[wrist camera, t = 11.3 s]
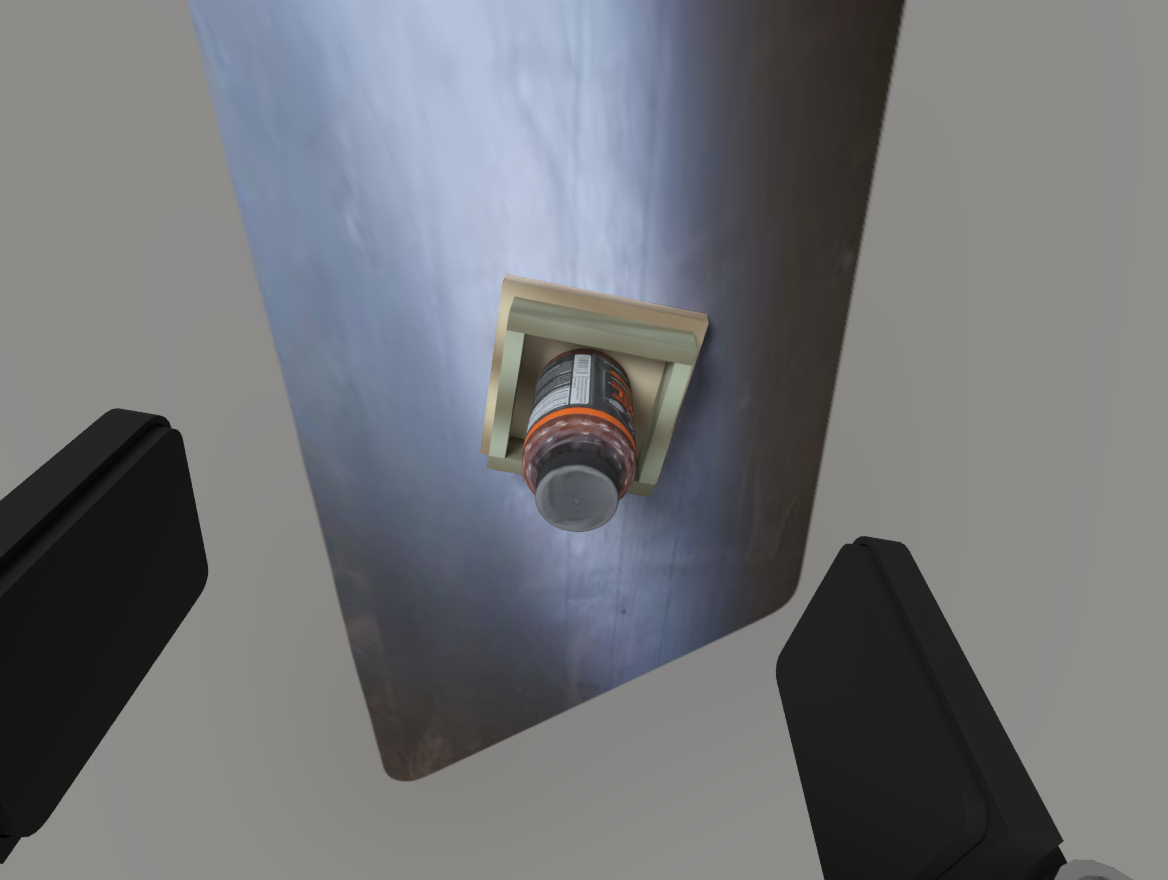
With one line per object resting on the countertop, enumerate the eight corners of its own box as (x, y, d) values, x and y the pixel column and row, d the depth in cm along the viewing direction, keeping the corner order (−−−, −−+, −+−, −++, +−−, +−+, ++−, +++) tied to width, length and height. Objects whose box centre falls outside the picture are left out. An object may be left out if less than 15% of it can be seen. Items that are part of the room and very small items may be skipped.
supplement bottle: (647, 407, 41) (660, 526, 31) (563, 442, 42) (551, 565, 33) (606, 328, 38) (606, 431, 28) (517, 368, 40) (490, 479, 30)
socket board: (505, 274, 38) (496, 297, 34) (706, 314, 39) (715, 340, 35) (483, 443, 44) (473, 475, 41) (655, 473, 45) (658, 507, 42)
